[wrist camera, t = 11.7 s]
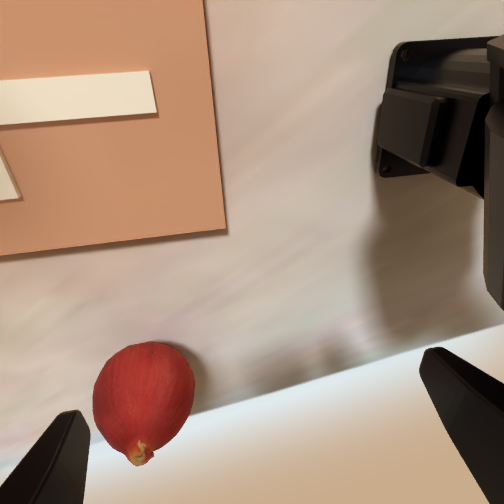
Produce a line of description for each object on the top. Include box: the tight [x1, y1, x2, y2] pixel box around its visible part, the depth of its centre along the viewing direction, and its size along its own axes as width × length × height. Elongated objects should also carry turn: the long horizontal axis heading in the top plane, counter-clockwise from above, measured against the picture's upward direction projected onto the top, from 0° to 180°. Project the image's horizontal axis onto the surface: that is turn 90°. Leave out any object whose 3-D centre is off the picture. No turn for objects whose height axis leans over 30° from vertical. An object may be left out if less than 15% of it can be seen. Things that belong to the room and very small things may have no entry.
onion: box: [93, 342, 195, 466], centre depth 20 cm, size 6×6×8 cm
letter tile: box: [0, 0, 226, 255], centre depth 14 cm, size 14×14×1 cm
